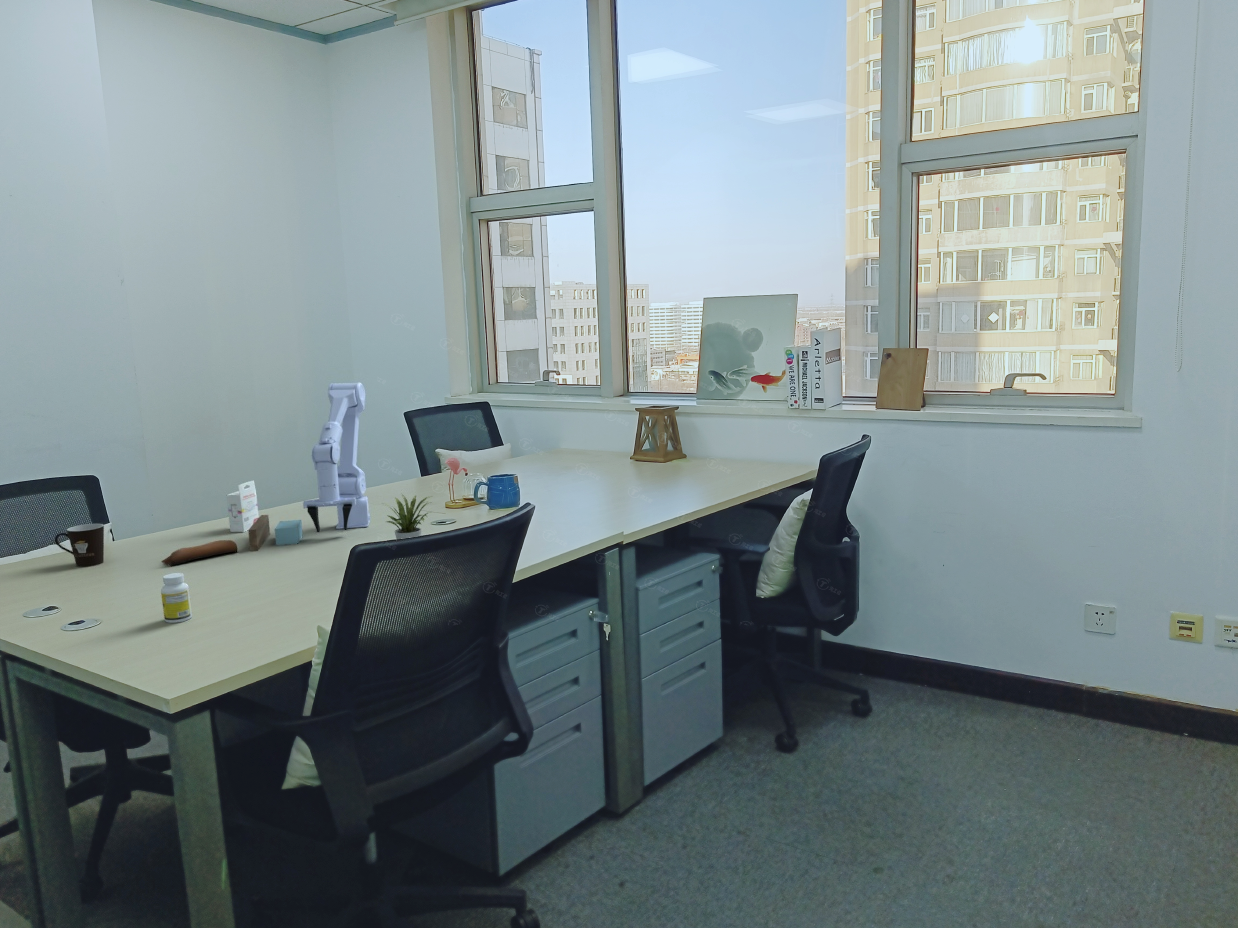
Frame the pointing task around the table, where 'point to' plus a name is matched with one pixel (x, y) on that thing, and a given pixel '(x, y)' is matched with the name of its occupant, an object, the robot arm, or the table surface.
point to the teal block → (288, 532)
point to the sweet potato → (200, 551)
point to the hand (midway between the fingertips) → (331, 530)
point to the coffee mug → (86, 544)
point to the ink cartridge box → (242, 508)
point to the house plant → (407, 519)
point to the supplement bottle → (176, 598)
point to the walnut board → (259, 532)
